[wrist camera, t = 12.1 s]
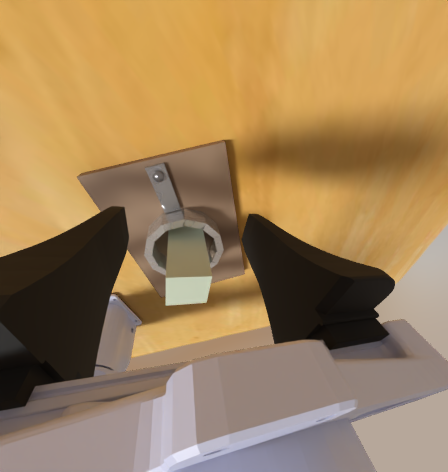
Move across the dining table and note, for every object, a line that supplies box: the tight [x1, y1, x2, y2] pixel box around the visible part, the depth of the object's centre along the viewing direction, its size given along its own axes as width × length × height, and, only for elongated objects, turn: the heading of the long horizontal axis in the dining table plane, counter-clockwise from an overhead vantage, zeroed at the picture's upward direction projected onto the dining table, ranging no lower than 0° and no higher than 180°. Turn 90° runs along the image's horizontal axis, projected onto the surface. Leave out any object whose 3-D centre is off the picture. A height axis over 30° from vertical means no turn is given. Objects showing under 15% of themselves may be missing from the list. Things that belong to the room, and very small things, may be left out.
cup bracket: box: [77, 140, 245, 297], centre depth 23 cm, size 20×14×4 cm
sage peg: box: [166, 226, 212, 306], centre depth 20 cm, size 4×4×8 cm
